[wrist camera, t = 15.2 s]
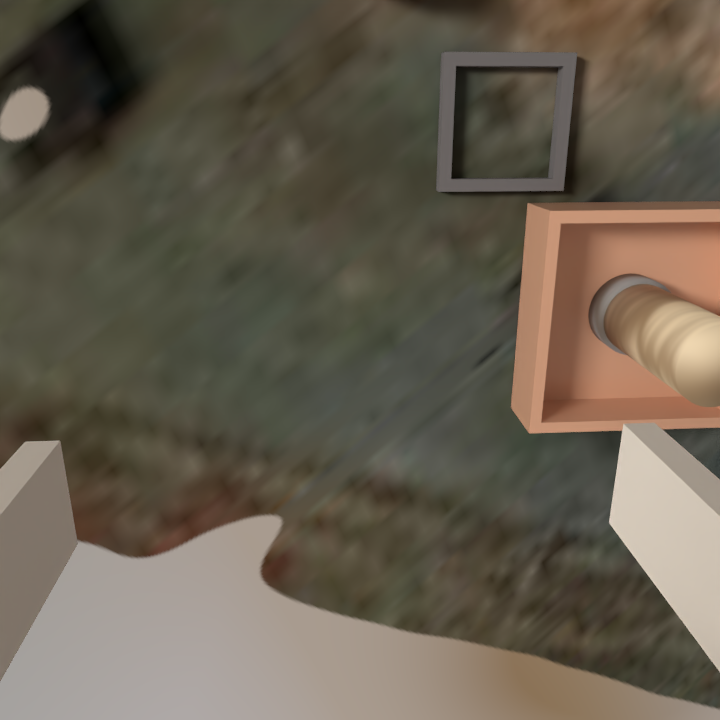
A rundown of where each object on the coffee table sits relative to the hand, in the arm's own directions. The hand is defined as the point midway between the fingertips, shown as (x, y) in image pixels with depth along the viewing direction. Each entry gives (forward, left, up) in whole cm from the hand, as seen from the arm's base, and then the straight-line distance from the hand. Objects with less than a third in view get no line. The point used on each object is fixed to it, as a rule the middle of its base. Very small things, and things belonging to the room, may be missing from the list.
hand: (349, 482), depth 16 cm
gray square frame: (-8, +12, -33) cm, 36 cm away
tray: (+5, +22, -33) cm, 40 cm away
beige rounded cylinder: (+5, +22, -32) cm, 39 cm away
